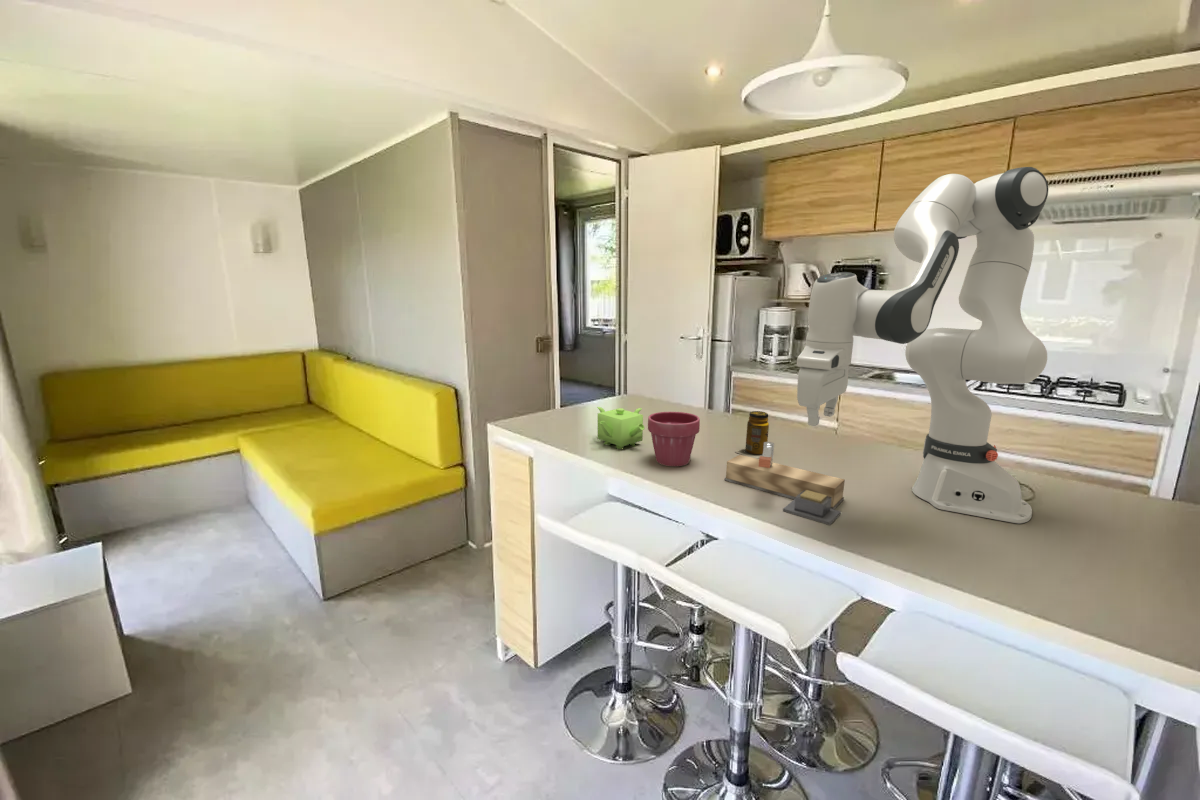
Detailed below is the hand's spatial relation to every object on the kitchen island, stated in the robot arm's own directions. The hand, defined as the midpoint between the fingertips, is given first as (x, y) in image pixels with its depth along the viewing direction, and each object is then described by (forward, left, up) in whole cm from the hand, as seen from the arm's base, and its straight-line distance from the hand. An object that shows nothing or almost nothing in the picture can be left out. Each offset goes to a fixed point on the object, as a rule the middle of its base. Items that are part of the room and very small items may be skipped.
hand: (821, 420), depth 109 cm
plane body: (+10, -8, -21) cm, 24 cm away
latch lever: (+12, -3, -16) cm, 20 cm away
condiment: (+27, -29, -21) cm, 45 cm away
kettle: (+62, -10, -21) cm, 66 cm away
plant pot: (+41, -7, -21) cm, 47 cm away
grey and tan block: (0, 0, -20) cm, 20 cm away
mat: (0, 0, -21) cm, 21 cm away
